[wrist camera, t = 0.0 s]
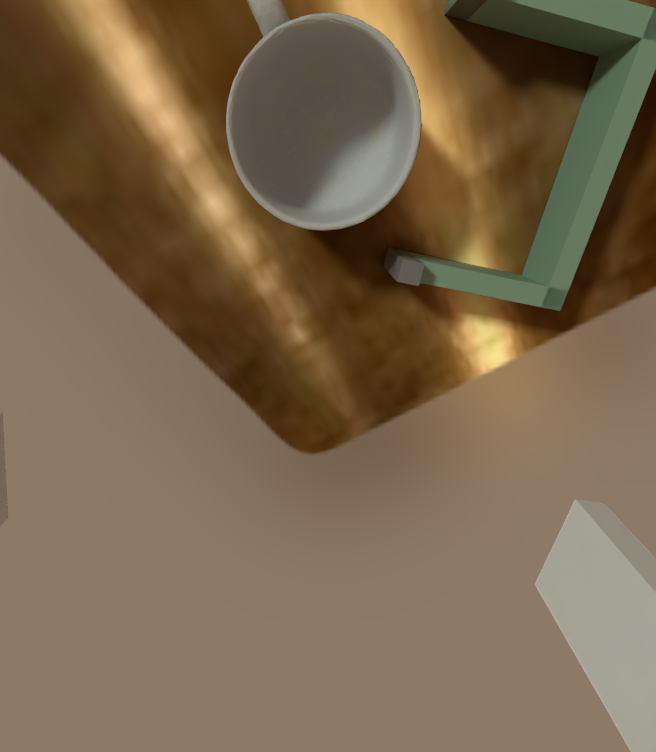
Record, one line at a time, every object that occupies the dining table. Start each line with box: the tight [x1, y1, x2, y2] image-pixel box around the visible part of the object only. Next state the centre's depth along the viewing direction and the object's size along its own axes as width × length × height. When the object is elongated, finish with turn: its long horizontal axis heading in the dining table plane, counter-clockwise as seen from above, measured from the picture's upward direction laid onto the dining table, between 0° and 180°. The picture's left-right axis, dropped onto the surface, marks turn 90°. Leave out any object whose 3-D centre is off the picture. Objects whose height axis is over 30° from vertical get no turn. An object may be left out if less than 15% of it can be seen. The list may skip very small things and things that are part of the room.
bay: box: [383, 0, 656, 311], centre depth 32 cm, size 18×12×6 cm
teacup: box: [226, 0, 422, 231], centre depth 29 cm, size 14×11×8 cm
